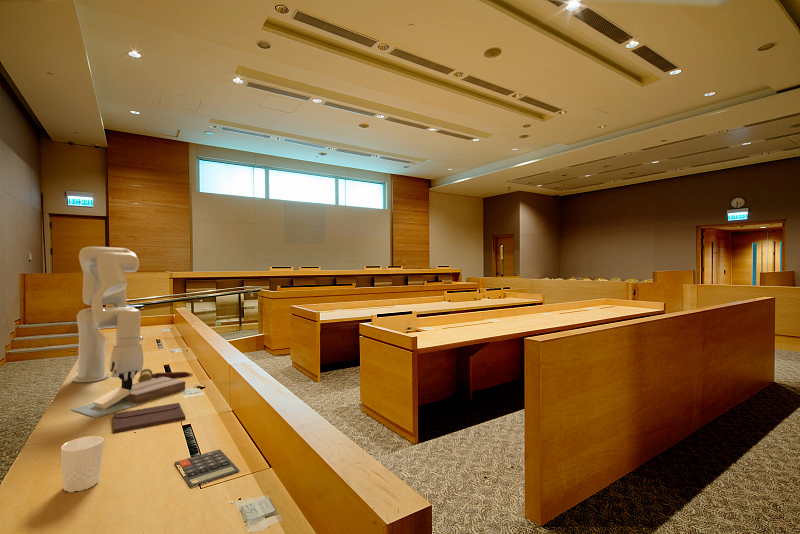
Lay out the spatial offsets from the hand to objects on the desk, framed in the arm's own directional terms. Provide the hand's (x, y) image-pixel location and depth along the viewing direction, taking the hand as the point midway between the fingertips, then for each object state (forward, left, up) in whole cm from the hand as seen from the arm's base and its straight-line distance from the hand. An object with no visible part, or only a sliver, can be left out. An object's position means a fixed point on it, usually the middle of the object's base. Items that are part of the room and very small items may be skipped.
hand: (126, 389), depth 149 cm
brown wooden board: (0, +9, -4) cm, 10 cm away
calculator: (+68, -20, -5) cm, 71 cm away
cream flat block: (0, -5, -2) cm, 6 cm away
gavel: (-14, +26, -5) cm, 30 cm away
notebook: (+24, -7, -5) cm, 25 cm away
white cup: (+49, -39, -4) cm, 63 cm away
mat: (+1, -8, -4) cm, 9 cm away
